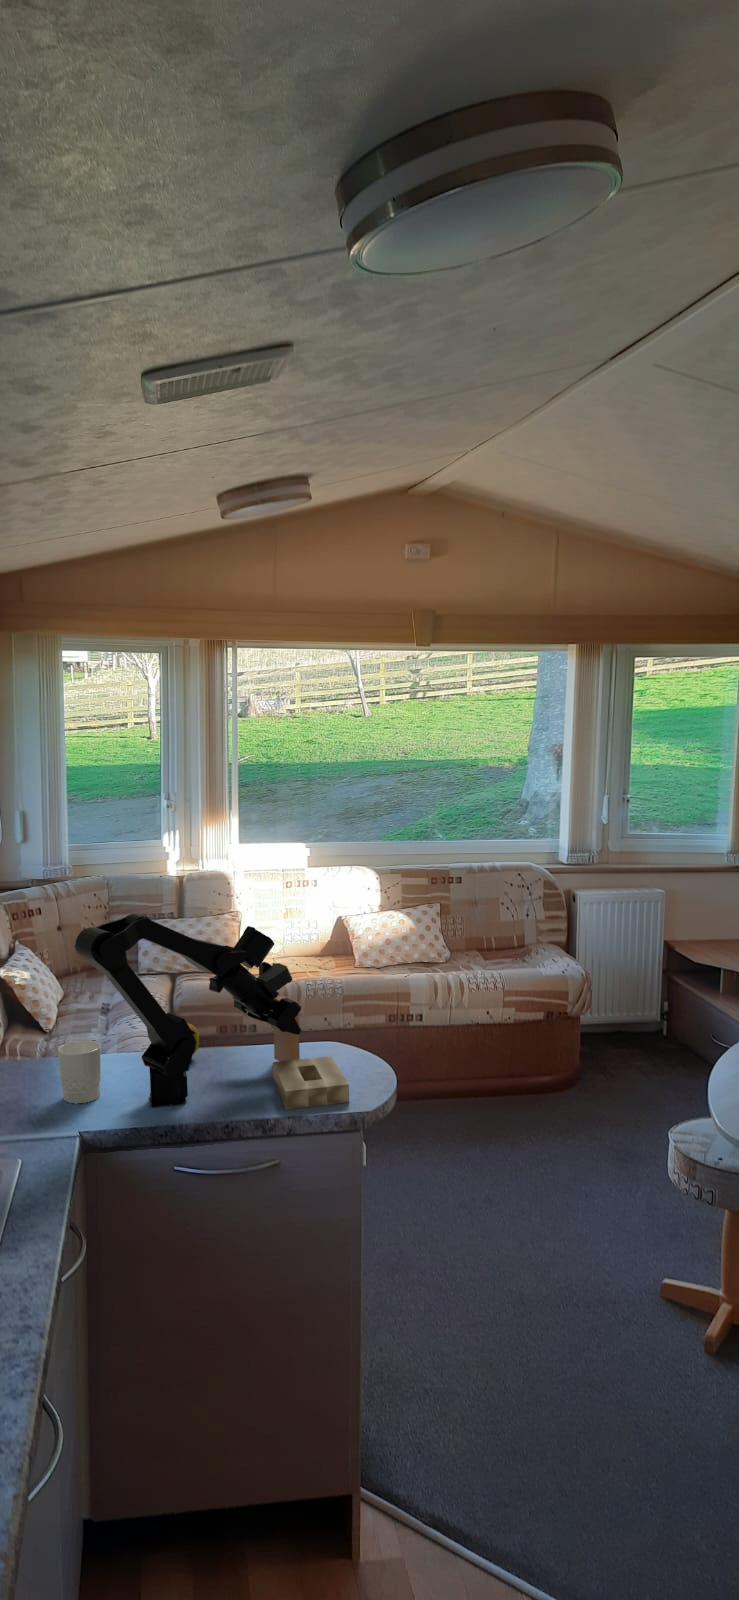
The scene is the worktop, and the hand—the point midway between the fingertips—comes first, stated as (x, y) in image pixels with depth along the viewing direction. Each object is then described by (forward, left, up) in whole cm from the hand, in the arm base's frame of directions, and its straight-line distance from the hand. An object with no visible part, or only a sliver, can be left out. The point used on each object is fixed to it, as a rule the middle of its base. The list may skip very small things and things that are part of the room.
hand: (291, 1028), depth 214 cm
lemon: (-21, +9, -8) cm, 24 cm away
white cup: (-42, -7, -8) cm, 43 cm away
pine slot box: (+1, -16, -7) cm, 17 cm away
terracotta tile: (-1, -1, -7) cm, 7 cm away
